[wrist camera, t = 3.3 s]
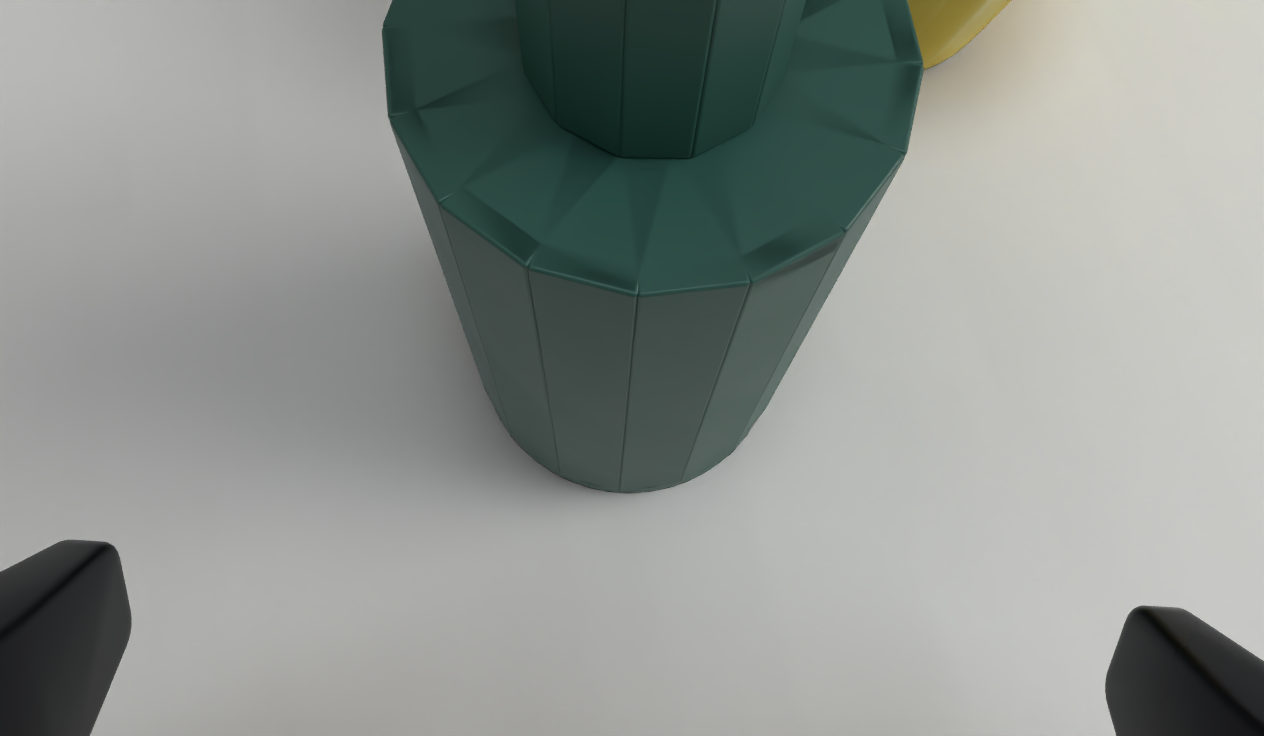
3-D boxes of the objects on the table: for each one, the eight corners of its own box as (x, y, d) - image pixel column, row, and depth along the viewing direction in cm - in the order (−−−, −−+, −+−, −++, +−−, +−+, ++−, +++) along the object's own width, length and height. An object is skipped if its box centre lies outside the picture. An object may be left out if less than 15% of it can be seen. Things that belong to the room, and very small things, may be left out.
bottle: (572, 549, 22) (527, 264, 8) (433, 300, 24) (188, -302, 10) (827, 402, 23) (1182, -73, 9) (677, 175, 25) (780, -523, 11)
